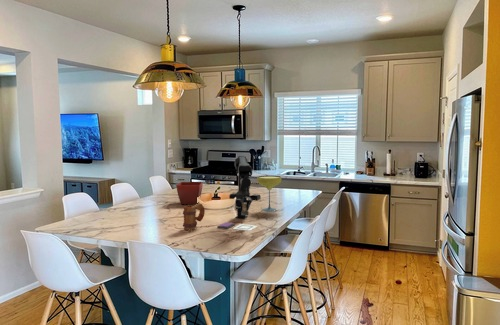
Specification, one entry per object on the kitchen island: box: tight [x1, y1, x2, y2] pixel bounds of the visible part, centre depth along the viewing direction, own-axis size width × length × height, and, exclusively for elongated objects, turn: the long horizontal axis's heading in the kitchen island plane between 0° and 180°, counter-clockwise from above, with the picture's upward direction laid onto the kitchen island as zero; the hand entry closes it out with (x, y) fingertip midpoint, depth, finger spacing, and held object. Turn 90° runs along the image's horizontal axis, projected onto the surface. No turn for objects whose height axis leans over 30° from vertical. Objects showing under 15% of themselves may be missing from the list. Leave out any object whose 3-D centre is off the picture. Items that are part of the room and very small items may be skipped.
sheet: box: [231, 223, 259, 232], centre depth 226 cm, size 12×12×1 cm
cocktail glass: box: [256, 175, 282, 212], centre depth 276 cm, size 18×18×25 cm
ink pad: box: [217, 222, 236, 230], centre depth 229 cm, size 10×7×1 cm
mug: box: [182, 202, 206, 231], centre depth 224 cm, size 15×8×15 cm, turn 126°
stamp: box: [241, 203, 249, 216], centre depth 225 cm, size 4×4×7 cm
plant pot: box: [175, 181, 204, 205], centre depth 306 cm, size 19×19×17 cm
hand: (244, 210), depth 225 cm, fingers closed on stamp, 3 cm apart
